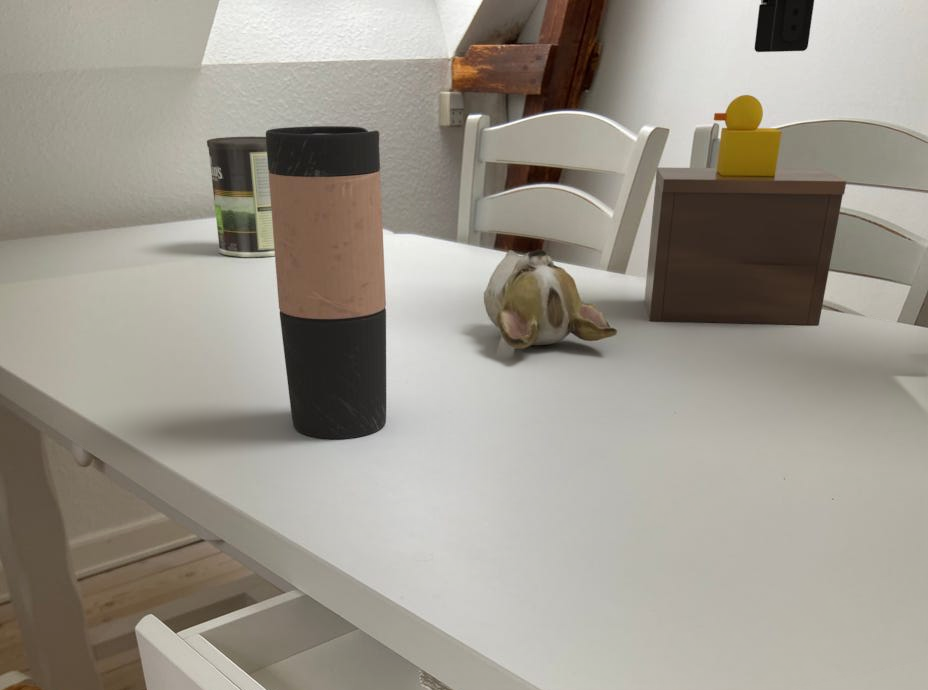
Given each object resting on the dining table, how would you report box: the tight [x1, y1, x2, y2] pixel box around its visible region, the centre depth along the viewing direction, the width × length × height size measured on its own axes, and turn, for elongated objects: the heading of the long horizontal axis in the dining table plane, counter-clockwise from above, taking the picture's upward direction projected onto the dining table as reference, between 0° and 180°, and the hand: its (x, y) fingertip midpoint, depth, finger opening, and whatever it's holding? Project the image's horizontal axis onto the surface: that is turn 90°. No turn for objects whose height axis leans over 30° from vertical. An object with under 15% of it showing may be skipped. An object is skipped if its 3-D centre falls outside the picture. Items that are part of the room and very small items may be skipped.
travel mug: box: [265, 125, 387, 440], centre depth 71 cm, size 8×8×20 cm
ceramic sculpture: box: [483, 249, 618, 350], centre depth 95 cm, size 11×9×15 cm
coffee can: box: [206, 136, 275, 258], centre depth 137 cm, size 10×10×14 cm
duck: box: [713, 94, 782, 176], centre depth 99 cm, size 6×4×7 cm
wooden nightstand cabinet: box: [644, 167, 847, 326], centre depth 104 cm, size 11×17×14 cm, turn 83°
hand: (779, 51), depth 95 cm, fingers open, 9 cm apart
